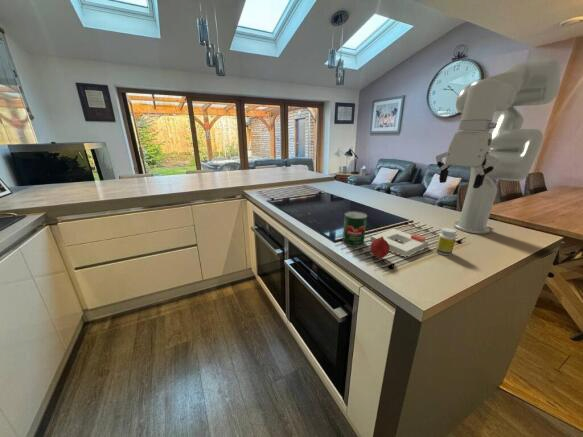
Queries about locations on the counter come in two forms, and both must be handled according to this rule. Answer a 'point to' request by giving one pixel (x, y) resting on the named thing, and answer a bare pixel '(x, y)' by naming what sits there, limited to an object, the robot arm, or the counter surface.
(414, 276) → the counter surface
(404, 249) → the socket plate
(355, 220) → the canned tomato
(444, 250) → the supplement bottle
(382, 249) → the onion
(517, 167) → the robot arm
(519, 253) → the counter surface
